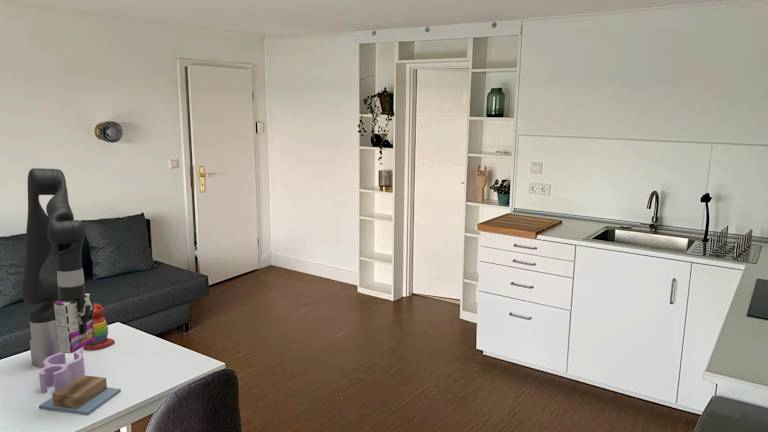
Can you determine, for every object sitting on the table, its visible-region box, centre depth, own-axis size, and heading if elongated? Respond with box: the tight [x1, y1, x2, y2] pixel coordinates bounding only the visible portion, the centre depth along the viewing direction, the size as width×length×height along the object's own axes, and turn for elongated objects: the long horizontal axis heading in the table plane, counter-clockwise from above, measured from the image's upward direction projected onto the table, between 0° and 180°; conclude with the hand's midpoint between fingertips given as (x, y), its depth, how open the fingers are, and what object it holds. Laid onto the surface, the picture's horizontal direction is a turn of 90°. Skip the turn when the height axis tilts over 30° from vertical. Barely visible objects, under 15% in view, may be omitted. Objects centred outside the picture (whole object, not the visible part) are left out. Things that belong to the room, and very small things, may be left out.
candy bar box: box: [54, 293, 94, 354], centre depth 191 cm, size 11×5×16 cm, turn 169°
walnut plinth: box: [51, 374, 108, 409], centre depth 195 cm, size 9×14×4 cm, turn 168°
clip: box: [38, 349, 86, 394], centre depth 209 cm, size 20×12×7 cm, turn 7°
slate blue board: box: [38, 386, 122, 416], centre depth 195 cm, size 18×16×1 cm
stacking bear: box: [83, 303, 116, 351], centre depth 237 cm, size 11×10×18 cm
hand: (75, 333), depth 191 cm, fingers closed on candy bar box, 5 cm apart
